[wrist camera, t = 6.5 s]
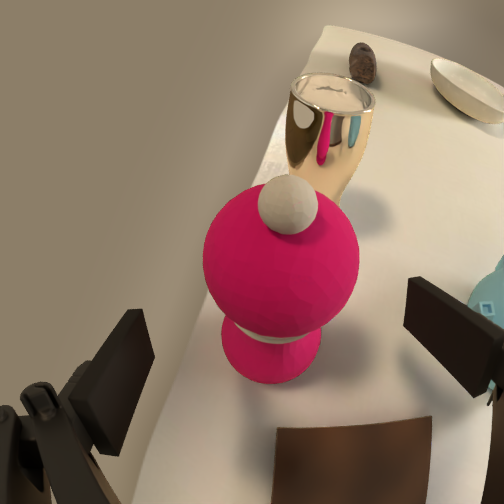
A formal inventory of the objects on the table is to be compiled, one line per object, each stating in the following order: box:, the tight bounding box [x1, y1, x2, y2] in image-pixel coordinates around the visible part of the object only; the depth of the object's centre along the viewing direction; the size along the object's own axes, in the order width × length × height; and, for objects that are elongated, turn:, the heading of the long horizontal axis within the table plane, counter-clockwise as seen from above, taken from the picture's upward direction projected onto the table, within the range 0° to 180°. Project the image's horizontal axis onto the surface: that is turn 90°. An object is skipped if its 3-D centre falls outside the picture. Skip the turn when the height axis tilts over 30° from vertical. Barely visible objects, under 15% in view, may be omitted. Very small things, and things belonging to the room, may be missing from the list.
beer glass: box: [285, 73, 375, 208], centre depth 26 cm, size 7×7×15 cm
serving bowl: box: [430, 58, 504, 124], centre depth 45 cm, size 21×21×7 cm
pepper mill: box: [203, 175, 359, 384], centre depth 17 cm, size 7×7×20 cm
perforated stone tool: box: [349, 43, 376, 84], centre depth 48 cm, size 15×5×7 cm, turn 164°
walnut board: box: [271, 416, 432, 504], centre depth 17 cm, size 14×14×1 cm
